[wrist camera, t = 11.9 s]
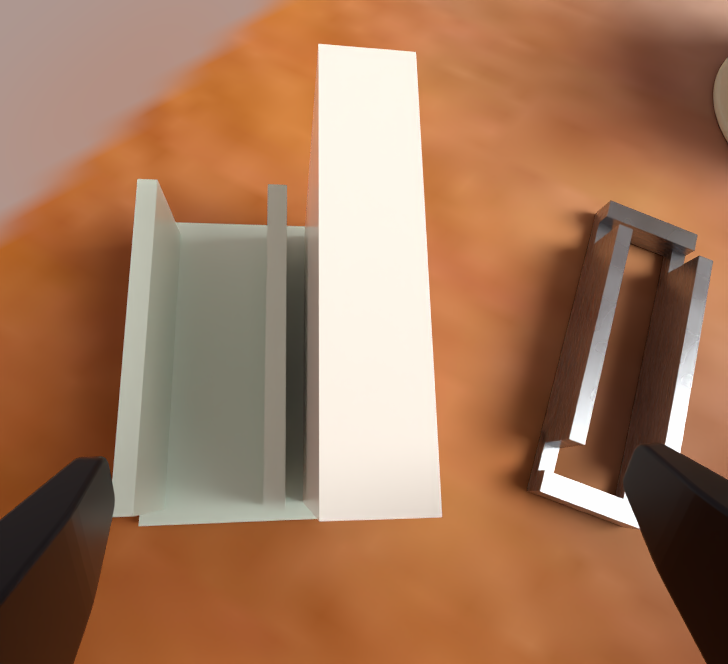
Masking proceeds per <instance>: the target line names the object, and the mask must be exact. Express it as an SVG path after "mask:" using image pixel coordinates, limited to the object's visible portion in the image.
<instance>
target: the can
mask: <svg viewBox="0 0 728 664" xmlns="http://www.w3.org/2000/svg"><path fill="white" fill-rule="evenodd" d="M713 101H714V109H715V114H716V117H717V120H718V124H719V126H720V129H721V131H722V133H723V135H724V137H725V139H726V140H727V142H728V57H727V59H726V60H725V61H724V62H723V64H722V66H721V67H720V69H719V71H718V73H717V76H716V79H715V83H714V90H713Z"/></svg>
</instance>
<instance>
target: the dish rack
mask: <svg viewBox="0 0 728 664" xmlns="http://www.w3.org/2000/svg"><path fill="white" fill-rule="evenodd" d="M304 234H305V226H287V185H272V184H268V217H267V225H242V224H210V223H178V222H175V220H174V217H173V215H172V213H171V210H170V208H169V205H168V203H167V201H166V198H165V196H164V194H163V191H162V189H161V187H160V184H159V182H158V180H150V179H137V191H136V203H135V215H134V227H133V239H132V251H131V263H130V275H129V287H128V299H127V311H126V323H125V335H124V347H123V359H122V371H121V383H120V395H119V407H118V419H117V431H116V443H115V455H114V467H113V479H112V484H113V489H114V494H115V506H114V512H113V517H131V516H137V515H139V526H156V525H180V524H204V523H228V522H252V521H277V520H301V519H317V518H316V517H315V516H314V515H313V513H312V512H311V511H310V510H309V509H308V508H307V506H306V505H305V504H304V503H303V382H304Z"/></svg>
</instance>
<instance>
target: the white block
mask: <svg viewBox="0 0 728 664" xmlns="http://www.w3.org/2000/svg"><path fill="white" fill-rule="evenodd" d="M303 503H304V504H305V505H306V506H307V508H308V509H309V510H310V511H311V512H312V513H313V515H314V516H315V517H316V518H317V519H318V520H319V521H346V520H376V519H406V518H436V517H442V505H441V488H440V470H439V452H438V435H437V417H436V399H435V382H434V364H433V346H432V328H431V311H430V293H429V275H428V258H427V240H426V222H425V204H424V187H423V169H422V151H421V134H420V116H419V98H418V80H417V63H416V52H409V51H397V50H385V49H373V48H361V47H349V46H337V45H325V44H318V57H317V71H316V84H315V98H314V111H313V125H312V139H311V152H310V166H309V179H308V193H307V207H306V220H305V234H304V382H303Z"/></svg>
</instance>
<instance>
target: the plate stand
mask: <svg viewBox="0 0 728 664" xmlns="http://www.w3.org/2000/svg"><path fill="white" fill-rule="evenodd" d="M696 240H697V234H694V233H692V232H689V231H687V230H684V229H681V228H679V227H676V226H674V225H671V224H669V223H666V222H664V221H661V220H659V219H656V218H654V217H651V216H649V215H646V214H644V213H641V212H639V211H636V210H633V209H631V208H628V207H626V206H623V205H621V204H618V203H616V202H613V201H610V202H609V203H607V204H606V205H605V206H604V207H603V208H602V209H600V210H599V211H598V212H597V213H596V215H595V219H594V223H593V227H592V231H591V235H590V239H589V243H588V247H587V251H586V255H585V259H584V263H583V267H582V271H581V275H580V279H579V283H578V287H577V291H576V295H575V299H574V303H573V307H572V311H571V315H570V319H569V323H568V327H567V331H566V335H565V339H564V343H563V347H562V351H561V355H560V359H559V363H558V367H557V371H556V375H555V379H554V383H553V387H552V391H551V395H550V399H549V403H548V407H547V411H546V415H545V419H544V423H543V427H542V431H541V435H540V439H539V443H538V447H537V451H536V455H535V459H534V463H533V467H532V471H531V475H530V479H529V483H528V487H527V491H528V492H531V493H534V494H536V495H539V496H542V497H544V498H547V499H550V500H553V501H555V502H558V503H561V504H563V505H566V506H569V507H571V508H574V509H577V510H579V511H582V512H585V513H587V514H590V515H593V516H595V517H598V518H601V519H603V520H606V521H609V522H611V523H614V524H617V525H619V526H622V527H626V528H633V529H640V528H639V526H638V523H637V521H636V518H635V516H634V514H633V511H632V509H631V506H630V504H629V501H628V499H627V497H626V494H625V491H624V488H623V477H624V474H625V471H626V469H627V467H628V464H629V462H630V459H631V457H632V454H633V452H634V449H635V448H636V447H637V446H638V445H639V444H642V443H662V444H665V445H667V446H668V447H670V448H672V449H674V450H676V451H677V452H679V453H680V450H681V445H682V439H683V433H684V427H685V421H686V415H687V410H688V404H689V398H690V392H691V386H692V381H693V375H694V369H695V363H696V357H697V351H698V346H699V340H700V334H701V328H702V322H703V316H704V311H705V305H706V299H707V293H708V287H709V282H710V276H711V270H712V264H713V261H712V260H709V259H707V258H704V257H702V256H698V257H696V258H694V259H692V260H691V261H689V262H687V263H685V264H684V258H685V256H686V255H688V254H689V253H691V252H693V251H695V245H696ZM630 243H631V244H633V245H636V246H638V247H641V248H643V249H646V250H649V251H651V252H654V253H656V254H659V255H661V256H664V257H663V262H662V267H661V272H660V277H659V282H658V287H657V292H656V297H655V301H654V306H653V311H652V316H651V321H650V326H649V331H648V336H647V341H646V346H645V351H644V356H643V361H642V366H641V371H640V376H639V381H638V385H637V390H636V395H635V400H634V405H633V410H632V415H631V420H630V425H629V430H628V435H627V440H626V445H625V450H624V455H623V460H622V465H621V469H620V474H619V479H618V484H617V489H616V494H615V496H613V495H611V494H608V493H605V492H603V491H600V490H597V489H595V488H592V487H589V486H587V485H584V484H581V483H579V482H576V481H573V480H571V479H568V478H565V477H563V476H560V475H557V474H555V473H554V469H555V465H556V460H557V456H558V452H559V448H564V447H572V446H580V445H585V442H586V437H587V433H588V429H589V424H590V420H591V415H592V411H593V406H594V402H595V397H596V393H597V388H598V384H599V380H600V375H601V371H602V366H603V362H604V357H605V353H606V348H607V344H608V340H609V335H610V331H611V326H612V322H613V317H614V313H615V308H616V304H617V299H618V295H619V291H620V286H621V282H622V277H623V273H624V268H625V264H626V259H627V255H628V250H629V246H630Z"/></svg>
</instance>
